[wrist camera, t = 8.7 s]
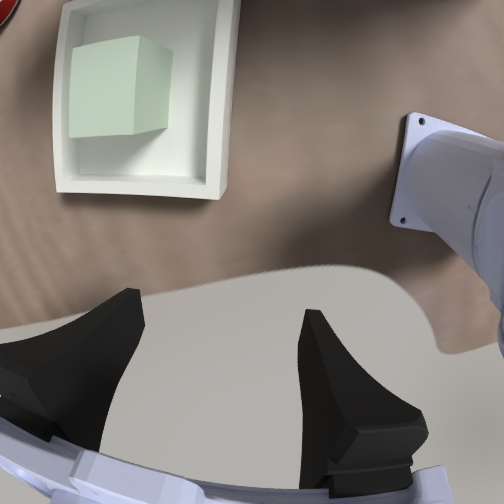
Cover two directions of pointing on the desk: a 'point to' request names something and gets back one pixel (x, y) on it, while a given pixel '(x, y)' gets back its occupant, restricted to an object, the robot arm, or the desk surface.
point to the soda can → (6, 9)
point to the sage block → (119, 87)
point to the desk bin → (180, 103)
